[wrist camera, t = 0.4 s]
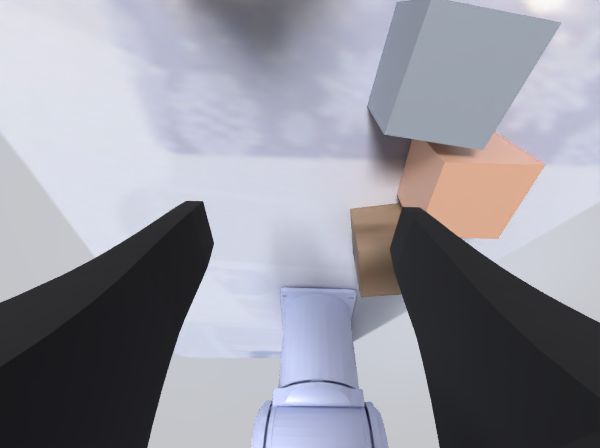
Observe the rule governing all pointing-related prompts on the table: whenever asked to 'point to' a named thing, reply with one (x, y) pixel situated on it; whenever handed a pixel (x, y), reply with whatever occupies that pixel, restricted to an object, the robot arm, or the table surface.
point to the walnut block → (375, 248)
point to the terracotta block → (468, 184)
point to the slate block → (453, 70)
